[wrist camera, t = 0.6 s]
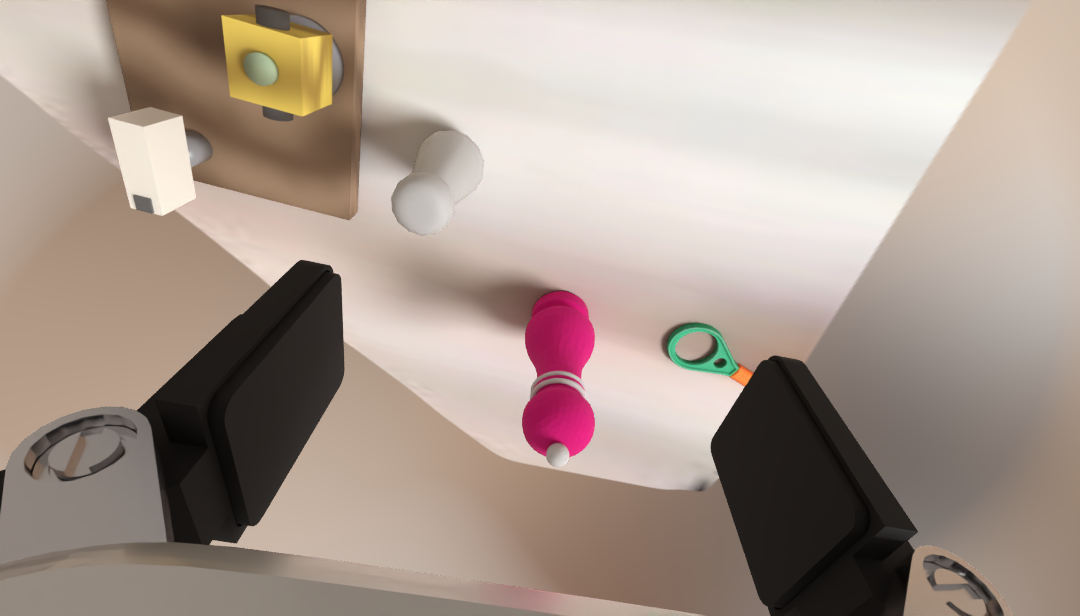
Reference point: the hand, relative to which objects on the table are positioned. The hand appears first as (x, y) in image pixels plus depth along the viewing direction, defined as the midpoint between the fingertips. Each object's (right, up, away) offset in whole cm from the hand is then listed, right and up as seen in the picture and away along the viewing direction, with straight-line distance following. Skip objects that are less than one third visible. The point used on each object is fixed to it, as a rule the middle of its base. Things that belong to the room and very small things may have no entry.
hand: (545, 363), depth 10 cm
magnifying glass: (+21, -5, +44) cm, 49 cm away
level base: (-24, +23, +27) cm, 43 cm away
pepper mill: (+2, +1, +41) cm, 41 cm away
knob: (-30, +16, +30) cm, 45 cm away
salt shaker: (-8, +15, +32) cm, 36 cm away
